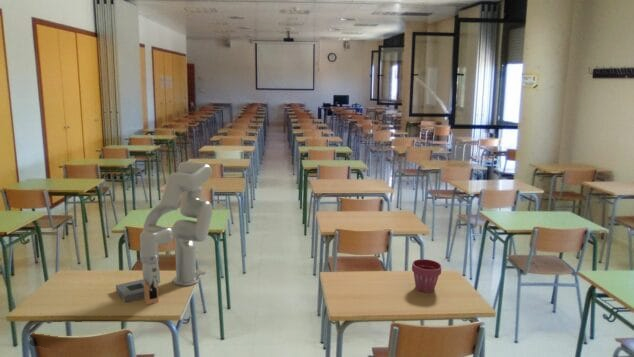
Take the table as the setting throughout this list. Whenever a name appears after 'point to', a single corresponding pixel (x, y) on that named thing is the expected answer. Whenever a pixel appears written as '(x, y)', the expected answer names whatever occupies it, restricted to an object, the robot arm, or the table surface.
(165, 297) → the table surface
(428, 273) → the plant pot
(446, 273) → the table surface
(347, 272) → the table surface
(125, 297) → the socket plate
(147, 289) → the plug
